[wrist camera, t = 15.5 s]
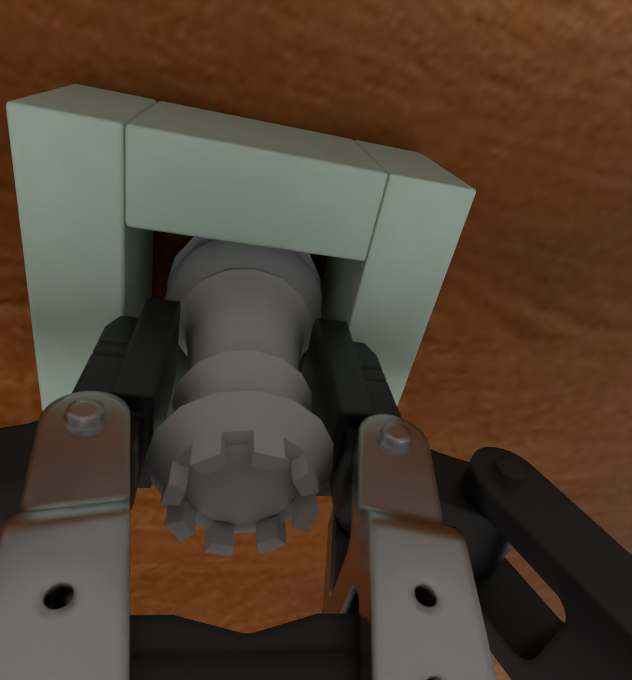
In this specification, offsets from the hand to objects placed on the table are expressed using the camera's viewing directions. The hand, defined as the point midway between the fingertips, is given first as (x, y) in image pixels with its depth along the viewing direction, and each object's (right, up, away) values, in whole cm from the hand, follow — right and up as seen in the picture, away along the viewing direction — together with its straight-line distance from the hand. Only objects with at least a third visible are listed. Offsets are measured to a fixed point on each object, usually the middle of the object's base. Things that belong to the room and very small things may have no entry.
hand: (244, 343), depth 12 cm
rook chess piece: (0, +2, +3) cm, 3 cm away
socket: (-1, +2, +3) cm, 4 cm away
